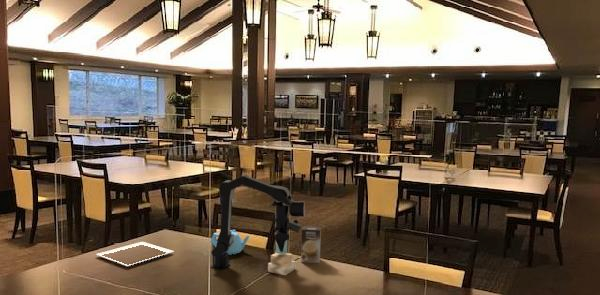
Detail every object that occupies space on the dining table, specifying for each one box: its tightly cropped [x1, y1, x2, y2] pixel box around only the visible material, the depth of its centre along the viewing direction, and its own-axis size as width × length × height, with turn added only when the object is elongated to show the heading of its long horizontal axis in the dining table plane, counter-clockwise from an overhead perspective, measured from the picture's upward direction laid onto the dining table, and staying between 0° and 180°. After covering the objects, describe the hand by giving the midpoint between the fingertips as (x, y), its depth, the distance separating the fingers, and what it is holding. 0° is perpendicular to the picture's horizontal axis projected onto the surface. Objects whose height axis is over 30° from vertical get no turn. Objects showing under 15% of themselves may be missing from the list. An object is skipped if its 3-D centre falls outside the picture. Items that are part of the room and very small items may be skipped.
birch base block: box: [267, 260, 296, 276], centre depth 202 cm, size 9×9×4 cm
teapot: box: [210, 229, 250, 256], centre depth 228 cm, size 15×15×11 cm
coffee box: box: [300, 225, 322, 264], centre depth 215 cm, size 9×6×16 cm
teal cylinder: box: [275, 240, 288, 254], centre depth 201 cm, size 5×5×6 cm
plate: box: [95, 241, 175, 267], centre depth 219 cm, size 26×26×2 cm
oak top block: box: [270, 252, 293, 266], centre depth 202 cm, size 7×7×4 cm
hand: (281, 249), depth 201 cm, fingers closed on teal cylinder, 5 cm apart
